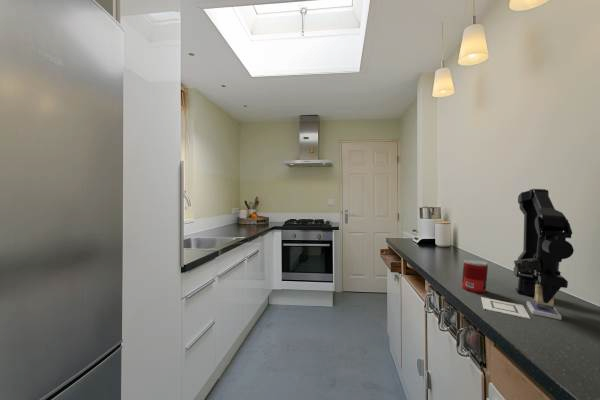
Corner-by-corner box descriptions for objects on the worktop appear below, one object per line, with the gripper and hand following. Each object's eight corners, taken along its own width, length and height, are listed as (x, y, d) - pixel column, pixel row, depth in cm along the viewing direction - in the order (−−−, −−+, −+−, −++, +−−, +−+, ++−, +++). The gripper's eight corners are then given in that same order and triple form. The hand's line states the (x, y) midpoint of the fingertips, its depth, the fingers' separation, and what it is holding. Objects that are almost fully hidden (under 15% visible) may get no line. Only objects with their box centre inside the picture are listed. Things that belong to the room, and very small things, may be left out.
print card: (481, 297, 104) (481, 296, 104) (522, 306, 98) (522, 304, 98) (483, 309, 94) (483, 308, 94) (530, 319, 88) (530, 317, 88)
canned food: (489, 294, 108) (491, 265, 108) (465, 291, 110) (468, 263, 110) (480, 287, 116) (483, 260, 115) (459, 285, 117) (461, 258, 117)
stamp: (533, 301, 97) (535, 280, 97) (550, 304, 95) (552, 283, 95) (536, 306, 93) (538, 284, 93) (553, 309, 91) (556, 286, 91)
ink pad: (526, 304, 100) (526, 300, 100) (552, 309, 96) (553, 305, 96) (532, 313, 92) (532, 309, 92) (561, 319, 89) (561, 315, 88)
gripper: (512, 245, 105) (509, 287, 106) (522, 254, 89) (518, 304, 90) (552, 249, 100) (548, 294, 101) (570, 260, 84) (565, 313, 84)
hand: (543, 300), depth 94 cm, fingers closed on stamp, 4 cm apart
